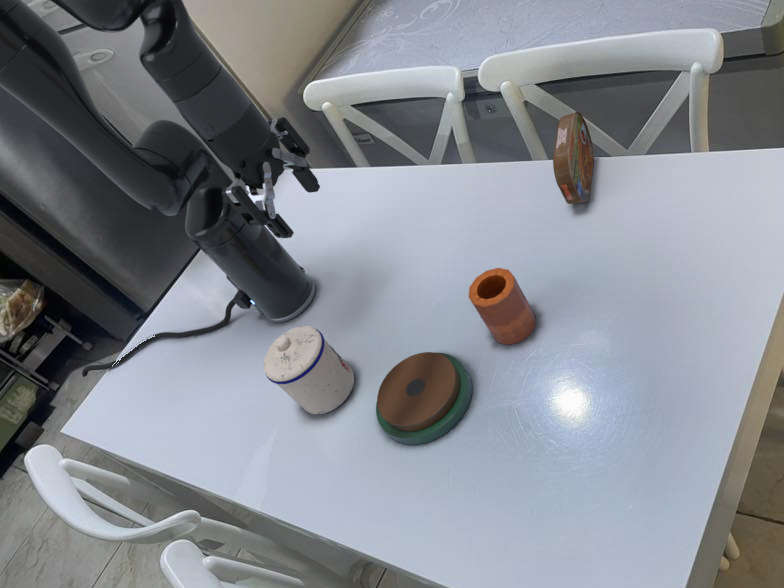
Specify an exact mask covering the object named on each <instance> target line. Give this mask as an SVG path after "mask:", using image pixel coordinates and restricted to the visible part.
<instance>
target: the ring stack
mask: <svg viewBox="0 0 784 588" xmlns="http://www.w3.org/2000/svg"><path fill="white" fill-rule="evenodd" d="M472 394H473V383H472V378H471V376H470V374H469V372H468V370H467V369H466V368H465V366H464V365H463V363H462V361H460V360H459V359H458V358H456V357H455V356H453V355H451V354H448V353H445V352H437V351H436V352H433V351H425V352H419V353H416V354H412V355H410V356H408V357H406V358H404V359H403V360H401V361H400V362H398V363H397V364H395V366H393V367H392V368H391V370H389V372H388V373H387V374H386V376H385V377H384V378H383V379H382V382H381V383H380V386H379V388H378V392H377V396H376V405H375V415H376V419H377V423H378V424H379V426H380V427H381V429H382V430H383V431H384V432H385V433H386V434H387V435H388V436H389V437H390V438H391V439H392V440H394V441H396V442H398V443H401V444H405V445H422V444H426V443H429V442H432V441H435V440H437V439H439V438H441V437H442V436H444V435H445V434H447V433H448V432H449V431H451V429H453V428H454V427H455V426H456V425H457V424H458V423H459V421H461V419H462V418H463V416H464V415H465V413H466V411H467V410H468V407H469V405H470V402H471V400H472Z"/></svg>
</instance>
